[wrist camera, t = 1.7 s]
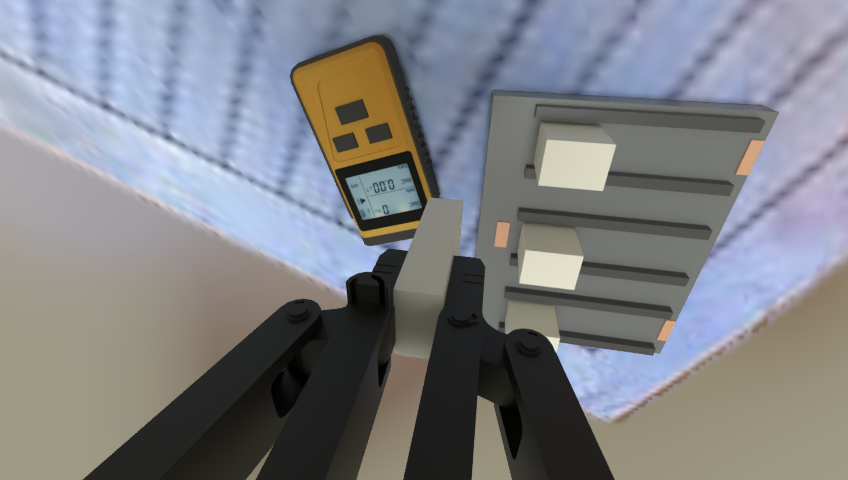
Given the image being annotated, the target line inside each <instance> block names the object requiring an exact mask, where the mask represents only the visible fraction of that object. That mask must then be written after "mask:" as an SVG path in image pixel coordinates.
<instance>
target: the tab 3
mask: <svg viewBox="0 0 848 480" xmlns="http://www.w3.org/2000/svg"><path fill="white" fill-rule="evenodd" d="M521 328H524V329H532V330H534V331H537V332H540V333H541V334H543V335H544V336H545V337H547V338H548V340H549V341H550V342H551V344H552V345H553V347H554V350H555V352H556V351H557V347H558V344H559V340H560V335H559V329H558V323H557V317H556V312H555V306H554V305H552V304H544V303H536V302H529V301H521V300H513V299H509V301H508V307H507V312H506V318H505V334H508V333H510V332H511V331H513V330H516V329H521Z"/></svg>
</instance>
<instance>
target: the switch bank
mask: <svg viewBox="0 0 848 480" xmlns="http://www.w3.org/2000/svg"><path fill="white" fill-rule="evenodd" d="M778 114H779V112H777V111H774V110H772V109H769V108H767V107H764V106H762V105H745V104H728V103H710V102H693V101H675V100H658V99H640V98H623V97H605V96H588V95H570V94H553V93H535V92H518V91H500V90H494V94H493V103H492V112H491V121H490V130H489V139H488V148H487V157H486V166H485V174H484V183H483V192H482V201H481V210H480V219H479V228H478V237H477V246H476V255H475V258H480V259H481V261H482V262H483V264H484V266H485V279H484V294H483V308H482V313H483V317H484V319H485V321H486V322H487V323H488V324H489V325H490V326H491V327H493V328H494V329H496V330H498V331H500V332H503V333H505V318H506V312H507V307H508V301H509V299H513V300H521V301H529V302H536V303H544V304H552V305H554V306H555V312H556V317H557V323H558V329H559V335H560V340H559V342H561V343H568V344H575V345H582V346H589V347H596V348H603V349H610V350H617V351H625V352H632V353H639V354H646V355H653V354H654V353H659V354H660V352H661V350H662V348H663V346H664V344H665V342H666V341H667V339H668V337H669V335H670V333H671V331H672V329H673V327H674V325H675V323H676V320H677V318H678V316H679V314H680V312H681V310H682V308H683V306H684V304H685V302H686V300H687V298H688V296H689V294H690V292H691V290H692V288H693V286H694V284H695V282H696V280H697V277H698V275H699V273H700V271H701V269H702V267H703V265H704V263H705V261H706V259H707V257H708V255H709V253H710V251H711V249H712V247H713V245H714V243H715V241H716V239H717V237H718V235H719V233H720V231H721V229H722V227H723V225H724V223H725V221H726V219H727V217H728V215H729V213H730V211H731V209H732V207H733V205H734V203H735V201H736V199H737V197H738V194H739V192H740V190H741V188H742V186H743V184H744V182H745V180H746V178H747V176H748V175H749V173H750V171H751V169H752V167H753V165H754V163H755V161H756V159H757V157H758V155H759V153H760V151H761V149H762V147H763V145H764V143H765V140H766V138H767V136H768V134H769V132H770V130H771V128H772V126H773V124H774V122H775V120H776V118H777V116H778ZM541 121H549V122H564V123H579V124H594V125H601V126H602V128H603V129H604V130H605V131H606V133H607V134H608V135H609V136H610V137H611V139H612V140H613V141H614V142H615V144H616V148H615V151H614V155H613V158H612V161H611V165H610V168H609V172H608V175H607V179H606V182H605V186H604V189H603V191H595V190H584V189H573V188H562V187H550V186H539V185H538V182H537V177H536V172H535V166H534V157H535V151H536V146H537V140H538V134H539V129H540V123H541ZM523 221H525V222H535V223H545V224H554V225H564V226H574V227H575V231H576V234H577V237H578V240H579V243H580V246H581V249H582V252H583V256H584V258H583V261H582V265H581V268H580V272H579V275H578V278H577V282H576V285H575V289H574V290H569V289H561V288H553V287H545V286H537V285H529V284H521V283H519V270H518V252H517V251H518V246H519V240H520V234H521V229H522V223H523Z"/></svg>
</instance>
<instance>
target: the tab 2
mask: <svg viewBox="0 0 848 480" xmlns="http://www.w3.org/2000/svg"><path fill="white" fill-rule="evenodd" d="M517 252H518V270H519V283H521V284H529V285H537V286H545V287H553V288H561V289H569V290H574V289H575V285H576V282H577V278H578V275H579V272H580V268H581V265H582V261H583V258H584V256H583V252H582V249H581V246H580V243H579V240H578V237H577V234H576V231H575V227H574V226H564V225H554V224H545V223H535V222H525V221H523V223H522V229H521V234H520V240H519V246H518V251H517Z"/></svg>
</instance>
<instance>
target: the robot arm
mask: <svg viewBox="0 0 848 480" xmlns="http://www.w3.org/2000/svg"><path fill="white" fill-rule="evenodd" d="M462 210H463V201H461V200H450V199H440V198H430V197H429V199H428V202H427V204H426V207H425V210H424V212H423V215H422V217H421V220H420V222H419V225H418V228H417V230H416V233H415V235H414V238H413V240H412V243H411V245H410V248H409V251H404V250H395V249H388V250H386V251H385V252H384V253H382V254H381V255H380V256H379V258H378V260H377V262H376V265H375V266H374V268H373V271H372V272H363V273H358V274H356V275H354V276H352V277H350V278H349V279H348V280H347V281H346V289H347V298H348V304H347V306H346V307H343V308H339V309H331V310H321V308H320V306H319V305H318V303H316V302H314V301H312V300H308V299H298V300H294V301H291V302H288V303H286V304H285V305H283V306H282V307H280V308H279V309H278V310H277V311H276V312H275V313H273V314H272V315H271V316H270V317H269V318H268V319H266V320H265V321H264V322H263V323H262V324H261V325H260V326H259V327H257V328H256V329H255V330H254V331H253V332H252V333H250V334H249V335H248V336H247V337H246V338H245V339H244V340H242V341H241V342H240V343H239V344H238V345H237V346H235V347H234V348H233V349H232V350H231V351H230V352H229V353H228V354H226V355H225V356H224V357H223V358H222V359H221V360H219V361H218V362H217V363H216V364H215V365H214V366H213V367H212V368H210V369H209V370H208V371H207V372H206V373H205V374H203V375H202V376H201V377H200V378H199V379H198V380H196V381H195V382H194V383H193V384H192V385H191V386H190V387H188V388H187V389H186V390H185V391H184V392H183V393H182V394H180V395H179V396H178V397H177V398H176V399H175V400H174V401H172V402H171V403H170V404H169V405H168V406H167V407H166V408H165V409H163V410H162V411H161V412H160V413H159V414H158V415H156V416H155V417H154V418H153V419H152V420H151V421H150V422H148V423H147V424H146V425H145V426H144V427H143V428H142V429H140V430H139V431H138V432H137V433H136V434H135V435H133V436H132V437H131V438H130V439H129V440H128V441H127V442H125V443H124V444H123V445H122V446H121V447H120V448H118V449H117V450H116V451H115V452H114V453H113V454H112V455H111V456H109V457H108V458H107V459H106V460H105V461H104V462H102V463H101V464H100V465H99V466H98V467H97V468H96V469H94V470H93V471H92V472H91V473H90V474H89V475H88V476H86V477H85V478H84V479H83V480H246V479H247V477H248V476H249V475H250V474H251V472H252V471H253V470H254V469H255V467H256V466H257V465H258V464H259V462H260V461H261V460H262V459H263V457H264V456H265V455H266V454H267V452H268V451H269V450H270V449H271V447H272V446H273V445H274V446H273V448H272V450H271V451H270V453H269V456H268V457H267V459H266V461H265V463H264V465H263V467H262V469H261V471H260V473H259V474H258V476H257V478H256V480H356V478H357V475H358V472H359V469H360V465H361V462H362V459H363V456H364V453H365V449H366V446H367V443H368V440H369V436H370V433H371V430H372V427H373V423H374V420H375V417H376V414H377V410H378V407H379V404H380V401H381V398H382V394H383V390H384V388H385V384H386V381H387V378H388V375H389V372H390V368H391V354H392V350H393V347H394V345H395V354H397V355H404V356H410V357H417V358H424V359H429V362H428V367H427V372H426V376H425V381H424V386H423V390H422V395H421V400H420V404H419V409H418V414H417V418H416V423H415V428H414V432H413V437H412V442H411V447H410V451H409V456H408V461H407V465H406V470H405V474H404V479H403V480H471V479H472V464H473V451H474V450H473V449H474V436H475V421H476V408H477V395H479V396H481V397H483V398H485V399H487V400H489V401H491V402H493V403H494V408H495V412H496V416H497V420H498V424H499V428H500V432H501V436H502V440H503V444H504V449H505V453H506V456H507V461H508V465H509V469H510V473H511V477H512V480H615V479H614V477H613V475H612V473H611V471H610V469H609V467H608V464H607V462H606V460H605V458H604V456H603V453H602V451H601V449H600V447H599V445H598V443H597V441H596V438H595V436H594V434H593V432H592V430H591V428H590V426H589V424H588V421H587V419H586V417H585V414H584V412H583V410H582V408H581V406H580V404H579V401H578V399H577V397H576V395H575V393H574V391H573V389H572V386H571V384H570V382H569V380H568V378H567V376H566V373H565V371H564V369H563V367H562V365H561V363H560V360H559V358H558V356H557V354H556V352H555V350H554V347H553V345H552V344H551V342H550V341H549V340H548V338H547V337H545V336H544V335H543V334H541V333H540V332H537V331H534V330H532V329H524V328H521V329H516V330H513V331H511V332H510V333H508V334H505V333H503V332H500V331H498V330H496V329H494V328H493V327H491V326H490V325H489V324H488V323H487V322H486V321H485V319H484V317H483V313H482V308H483V294H484V279H485V266H484V264H483V262H482V261H481V259H480V258H472V257H463V256H458V255H459V245H460V234H461V222H462Z"/></svg>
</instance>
